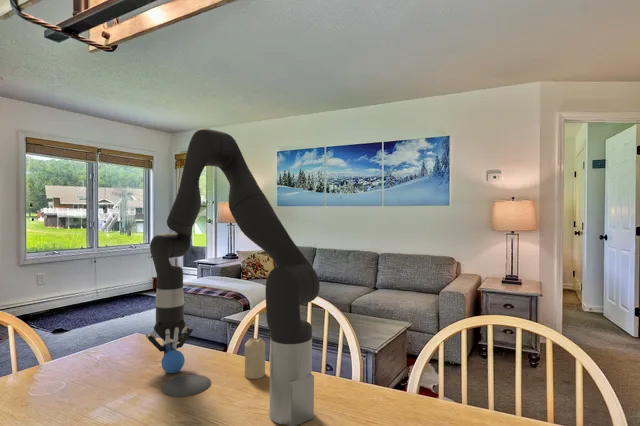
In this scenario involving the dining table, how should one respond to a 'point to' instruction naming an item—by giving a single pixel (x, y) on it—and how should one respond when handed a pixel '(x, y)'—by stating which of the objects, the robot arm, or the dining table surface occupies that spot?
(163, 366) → the ball
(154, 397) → the dining table surface
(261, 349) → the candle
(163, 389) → the disc
